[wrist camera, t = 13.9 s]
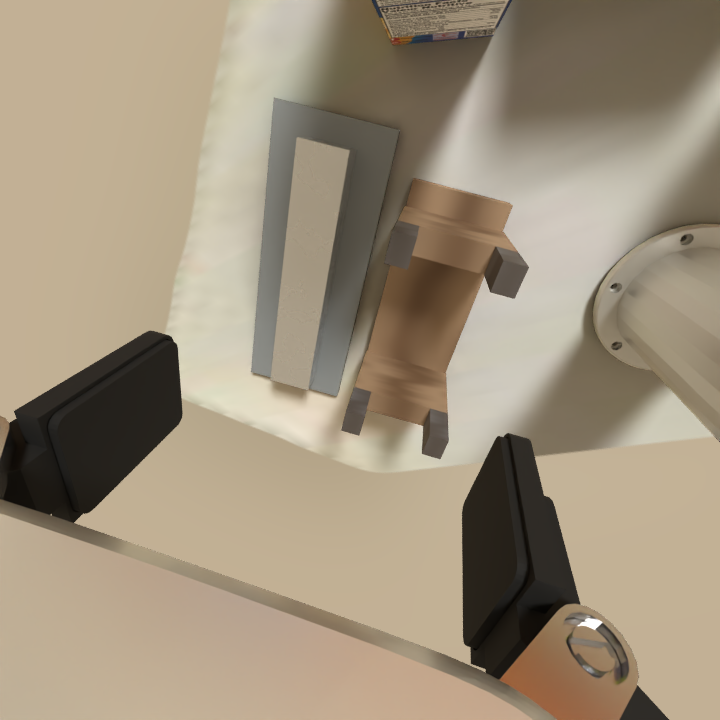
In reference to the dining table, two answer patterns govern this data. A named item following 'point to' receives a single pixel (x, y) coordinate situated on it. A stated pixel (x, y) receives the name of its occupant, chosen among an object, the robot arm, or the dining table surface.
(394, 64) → the dining table surface
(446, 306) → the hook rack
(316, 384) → the rubber mat
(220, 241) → the dining table surface
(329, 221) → the steel bar
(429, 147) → the dining table surface
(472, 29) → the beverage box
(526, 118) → the dining table surface
